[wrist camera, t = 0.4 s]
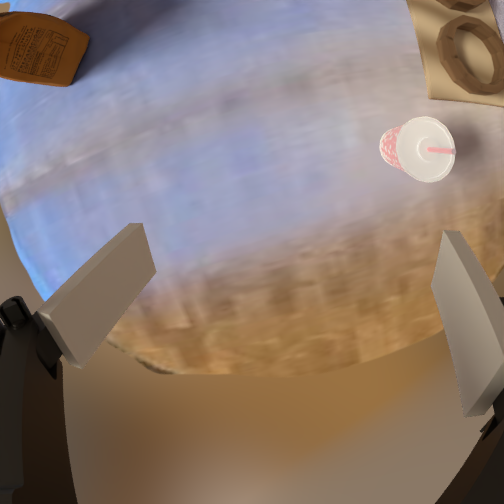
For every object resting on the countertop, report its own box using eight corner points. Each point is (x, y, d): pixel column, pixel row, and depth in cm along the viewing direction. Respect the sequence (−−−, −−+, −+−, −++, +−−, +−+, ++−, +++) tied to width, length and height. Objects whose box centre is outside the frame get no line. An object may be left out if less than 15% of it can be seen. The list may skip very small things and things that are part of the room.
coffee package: (54, 18, 30) (-49, -10, 9) (101, 35, 31) (-17, -8, 10) (26, 73, 33) (-81, 67, 13) (68, 96, 34) (-59, 91, 14)
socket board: (385, -54, 22) (392, -69, 18) (468, -36, 19) (480, -47, 16) (428, 99, 29) (443, 94, 25) (510, 108, 27) (528, 107, 23)
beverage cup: (426, 134, 31) (490, 133, 18) (412, 180, 33) (471, 202, 20) (381, 114, 31) (430, 98, 18) (366, 162, 33) (409, 173, 20)
